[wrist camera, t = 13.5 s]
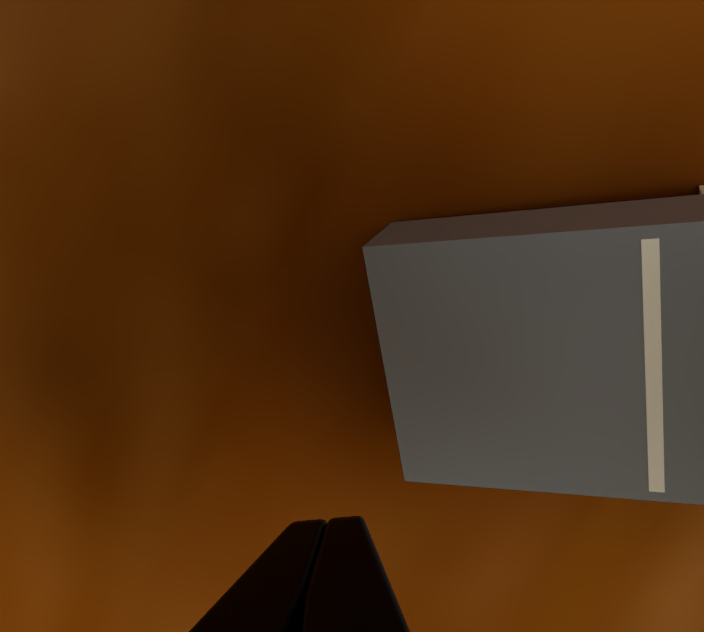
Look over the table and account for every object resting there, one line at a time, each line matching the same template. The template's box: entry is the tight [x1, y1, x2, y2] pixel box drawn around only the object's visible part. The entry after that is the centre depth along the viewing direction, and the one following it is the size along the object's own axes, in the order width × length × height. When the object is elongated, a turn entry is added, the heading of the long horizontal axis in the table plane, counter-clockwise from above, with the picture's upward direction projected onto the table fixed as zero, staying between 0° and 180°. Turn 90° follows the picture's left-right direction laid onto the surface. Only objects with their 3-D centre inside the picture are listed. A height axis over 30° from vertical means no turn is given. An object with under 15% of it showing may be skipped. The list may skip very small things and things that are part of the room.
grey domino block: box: [362, 194, 704, 505], centre depth 11 cm, size 2×5×9 cm
